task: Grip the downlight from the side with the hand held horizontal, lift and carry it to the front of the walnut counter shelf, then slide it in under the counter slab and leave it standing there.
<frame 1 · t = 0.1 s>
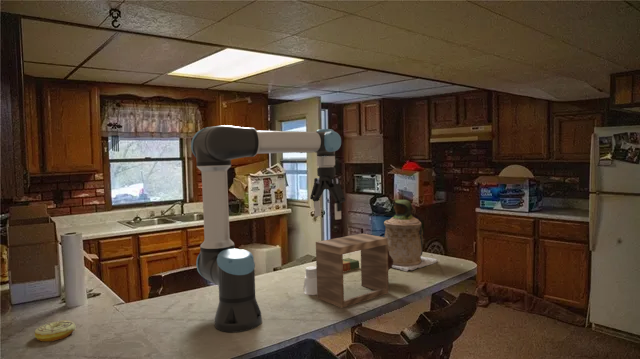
hand: (327, 217, 180), 28 cm above the kitchen counter, tool pointing down, fingers open, 13 cm apart
downlight: (312, 292, 171), on the kitchen counter
counter shelf: (353, 295, 166), on the kitchen counter
decorated donut: (56, 336, 136), on the kitchen counter
ice cream bowl: (380, 282, 182), on the kitchen counter
carton: (340, 270, 204), on the kitchen counter
cookie jar: (403, 263, 213), on the kitchen counter
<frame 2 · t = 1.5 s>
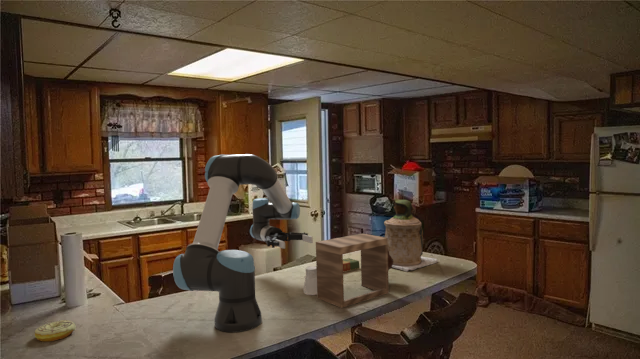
hand: (298, 242, 177), 19 cm above the kitchen counter, tool horizontal, fingers open, 13 cm apart
nothing on the kitchen counter moved.
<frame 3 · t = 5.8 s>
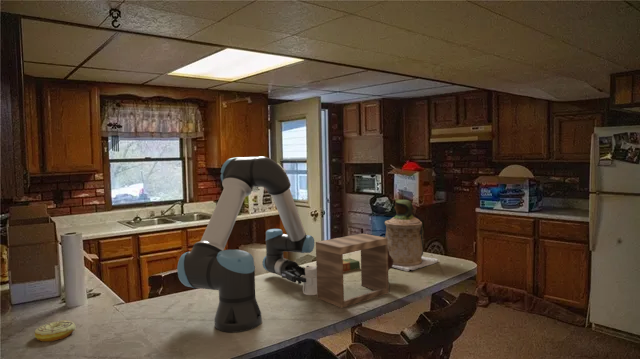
hand: (320, 279, 167), 6 cm above the kitchen counter, tool horizontal, fingers closed on downlight, 7 cm apart
downlight: (312, 292, 171), on the kitchen counter, touching gripper
everything else where it was.
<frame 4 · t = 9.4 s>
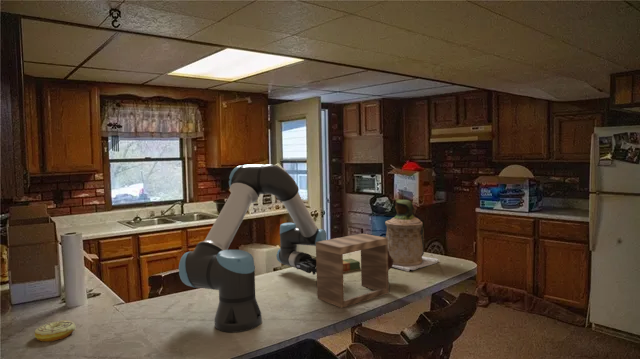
hand: (333, 270, 174), 7 cm above the kitchen counter, tool horizontal, fingers closed on downlight, 7 cm apart
downlight: (325, 283, 178), point 1 cm above the kitchen counter, touching gripper
everything else where it was.
when the fingers open (7 cm above the kitchen counter, at t = 12.7 s): downlight drops 1 cm, on the kitchen counter.
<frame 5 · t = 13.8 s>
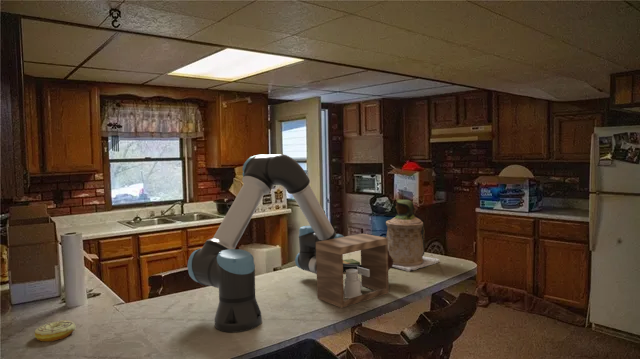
hand: (355, 276, 164), 8 cm above the kitchen counter, tool horizontal, fingers open, 13 cm apart
downlight: (353, 296, 165), on the kitchen counter
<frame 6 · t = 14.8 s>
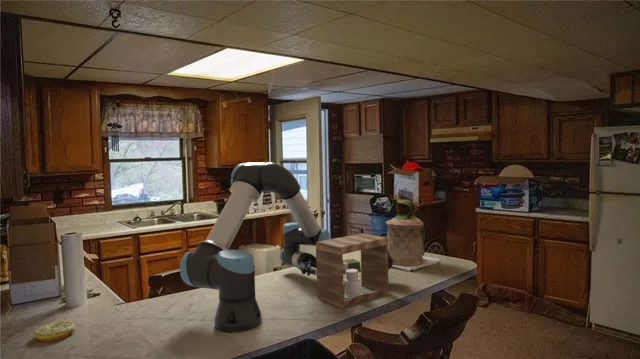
hand: (334, 270, 174), 8 cm above the kitchen counter, tool horizontal, fingers open, 13 cm apart
nothing on the kitchen counter moved.
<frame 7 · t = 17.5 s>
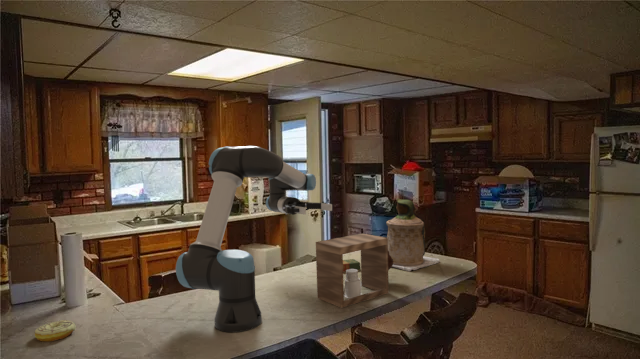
hand: (318, 209, 177), 32 cm above the kitchen counter, tool horizontal, fingers open, 13 cm apart
at the end: downlight inside the target area on the counter shelf (0.4 cm from its centre), point 0.0 cm above the counter shelf's base; downlight tilted 0°; the gripper is holding nothing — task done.
